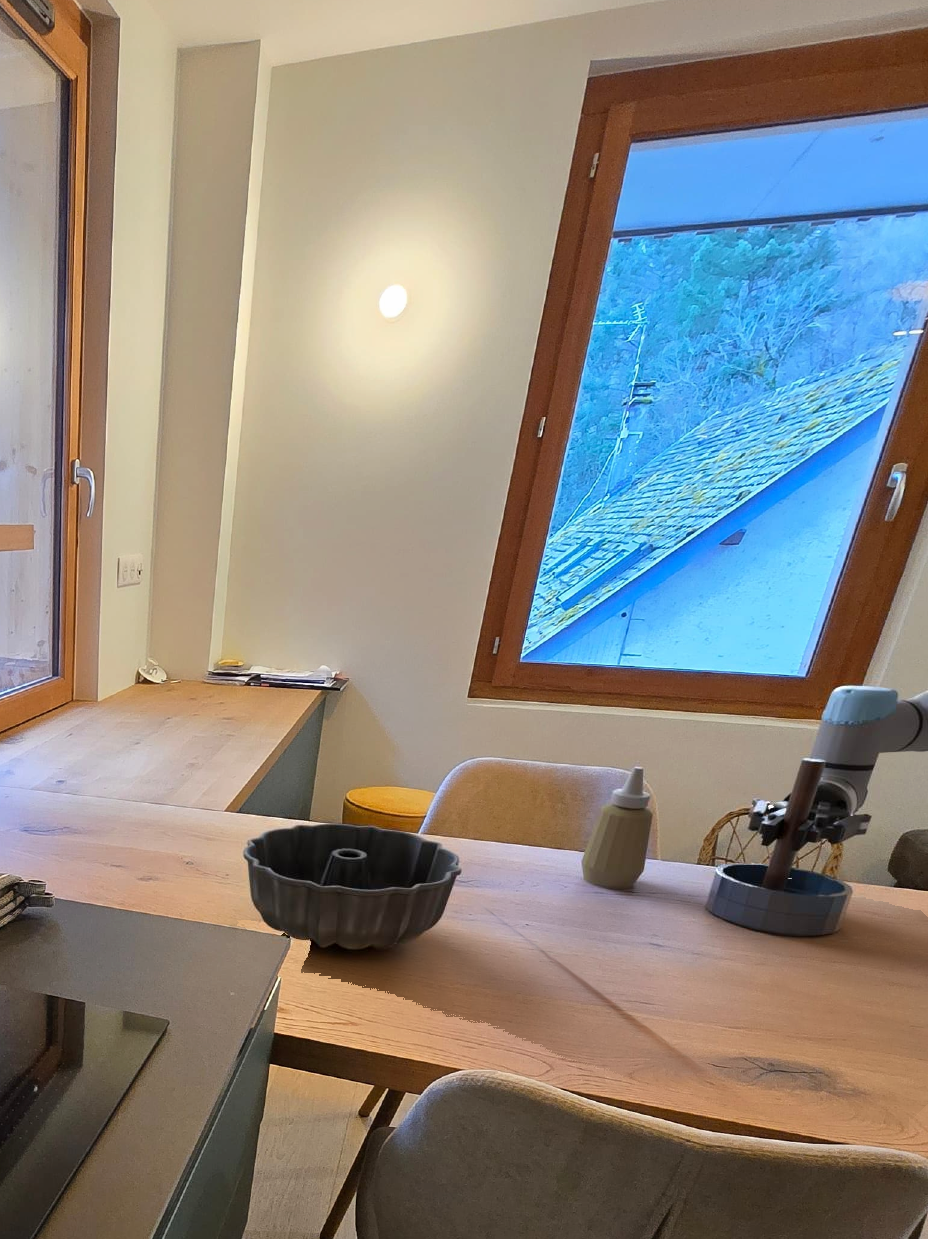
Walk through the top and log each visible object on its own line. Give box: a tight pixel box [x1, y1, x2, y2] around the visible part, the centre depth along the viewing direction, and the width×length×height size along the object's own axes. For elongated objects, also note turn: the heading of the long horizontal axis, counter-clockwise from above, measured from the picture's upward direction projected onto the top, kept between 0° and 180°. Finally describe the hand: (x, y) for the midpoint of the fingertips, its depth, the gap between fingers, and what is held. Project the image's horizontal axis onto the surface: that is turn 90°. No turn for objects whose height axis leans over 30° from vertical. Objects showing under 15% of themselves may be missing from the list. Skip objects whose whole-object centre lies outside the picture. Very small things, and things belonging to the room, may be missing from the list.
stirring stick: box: [762, 757, 826, 891], centre depth 123 cm, size 5×5×20 cm
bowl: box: [704, 862, 854, 938], centre depth 128 cm, size 15×15×6 cm
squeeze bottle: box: [581, 766, 654, 890], centre depth 137 cm, size 8×8×18 cm
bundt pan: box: [242, 823, 463, 950], centre depth 124 cm, size 26×26×10 cm
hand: (782, 837), depth 119 cm, fingers closed on stirring stick, 2 cm apart
